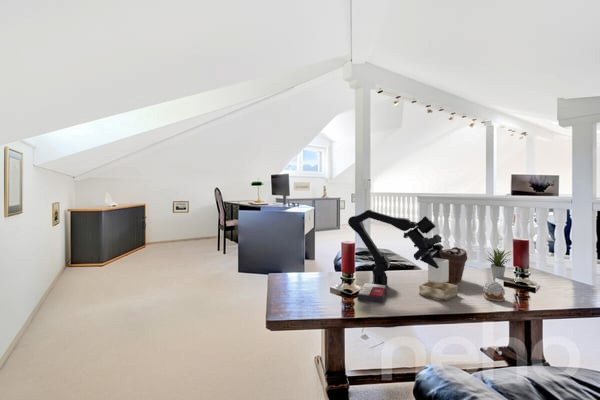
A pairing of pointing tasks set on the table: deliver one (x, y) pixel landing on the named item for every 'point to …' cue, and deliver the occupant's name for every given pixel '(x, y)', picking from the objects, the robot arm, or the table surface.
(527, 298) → the table surface
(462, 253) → the brown flower pot
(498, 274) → the house plant
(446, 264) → the white upright block
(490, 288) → the decorative ornament
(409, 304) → the table surface
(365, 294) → the red and white box
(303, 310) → the table surface
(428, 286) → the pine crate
